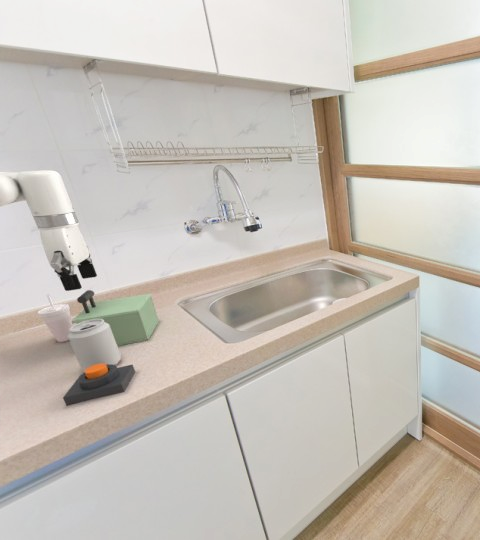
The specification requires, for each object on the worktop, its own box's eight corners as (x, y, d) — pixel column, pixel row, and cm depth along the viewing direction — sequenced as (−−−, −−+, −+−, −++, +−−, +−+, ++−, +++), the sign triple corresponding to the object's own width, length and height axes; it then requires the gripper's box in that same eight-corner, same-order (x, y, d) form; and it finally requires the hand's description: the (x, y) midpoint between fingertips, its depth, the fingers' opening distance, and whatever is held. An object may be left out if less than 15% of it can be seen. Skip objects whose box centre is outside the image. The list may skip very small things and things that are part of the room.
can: (84, 379, 78) (66, 335, 74) (81, 367, 83) (63, 324, 79) (124, 365, 83) (109, 322, 79) (119, 354, 88) (104, 313, 84)
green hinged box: (87, 351, 89) (76, 323, 86) (105, 330, 100) (95, 304, 97) (148, 340, 94) (139, 312, 91) (159, 321, 105) (151, 296, 102)
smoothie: (54, 346, 92) (34, 301, 88) (47, 340, 95) (27, 296, 91) (84, 336, 97) (66, 292, 93) (76, 330, 101) (59, 288, 96)
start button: (84, 381, 71) (81, 374, 71) (91, 372, 75) (88, 365, 74) (104, 376, 73) (102, 370, 72) (111, 367, 76) (108, 361, 75)
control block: (66, 406, 70) (59, 390, 68) (83, 383, 76) (76, 369, 75) (124, 392, 73) (118, 377, 72) (135, 371, 80) (130, 357, 79)
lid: (72, 323, 86) (63, 303, 84) (92, 305, 97) (85, 286, 95) (139, 312, 91) (132, 293, 89) (151, 295, 102) (145, 278, 100)
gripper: (55, 217, 90) (79, 275, 95) (16, 229, 75) (47, 298, 80) (90, 214, 92) (111, 271, 98) (59, 225, 77) (86, 292, 83)
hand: (82, 283), depth 89 cm, fingers open, 9 cm apart
